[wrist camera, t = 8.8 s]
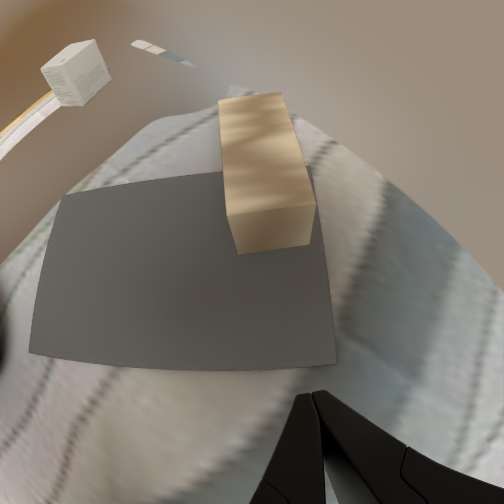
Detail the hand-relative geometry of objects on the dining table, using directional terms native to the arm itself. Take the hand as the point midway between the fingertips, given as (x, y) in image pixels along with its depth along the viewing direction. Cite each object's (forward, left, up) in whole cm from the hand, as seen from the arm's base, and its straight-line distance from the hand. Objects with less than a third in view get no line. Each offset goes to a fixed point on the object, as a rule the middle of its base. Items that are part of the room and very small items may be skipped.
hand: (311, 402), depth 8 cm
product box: (-24, +35, -9) cm, 43 cm away
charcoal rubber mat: (-8, +9, -9) cm, 15 cm away
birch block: (-1, +9, -6) cm, 11 cm away
